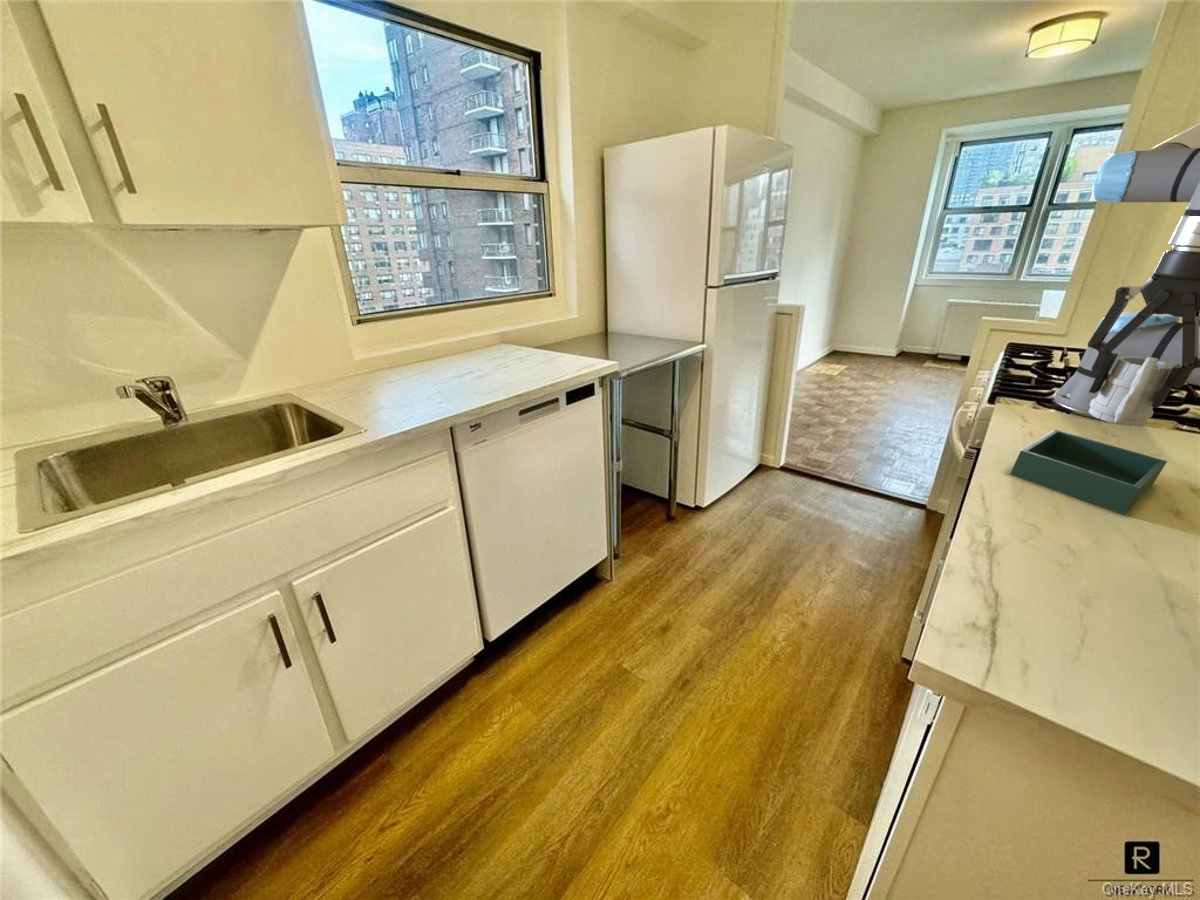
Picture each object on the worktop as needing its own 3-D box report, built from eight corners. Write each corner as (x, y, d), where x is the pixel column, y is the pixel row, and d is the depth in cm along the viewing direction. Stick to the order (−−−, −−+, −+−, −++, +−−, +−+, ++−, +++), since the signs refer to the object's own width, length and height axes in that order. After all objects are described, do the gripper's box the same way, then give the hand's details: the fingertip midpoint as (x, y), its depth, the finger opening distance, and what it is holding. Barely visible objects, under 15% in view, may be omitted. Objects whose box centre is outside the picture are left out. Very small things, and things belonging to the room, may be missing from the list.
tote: (1044, 451, 97) (1054, 429, 95) (1152, 485, 86) (1167, 461, 83) (1009, 474, 89) (1020, 450, 87) (1124, 515, 78) (1140, 488, 75)
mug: (1146, 417, 83) (1186, 349, 78) (1147, 439, 76) (1191, 366, 70) (1087, 405, 88) (1120, 340, 82) (1082, 425, 81) (1118, 355, 75)
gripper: (1104, 245, 75) (1042, 385, 86) (1314, 257, 60) (1207, 423, 71) (1119, 243, 79) (1057, 377, 89) (1320, 253, 64) (1218, 412, 75)
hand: (1124, 397), depth 80 cm, fingers closed on mug, 7 cm apart
